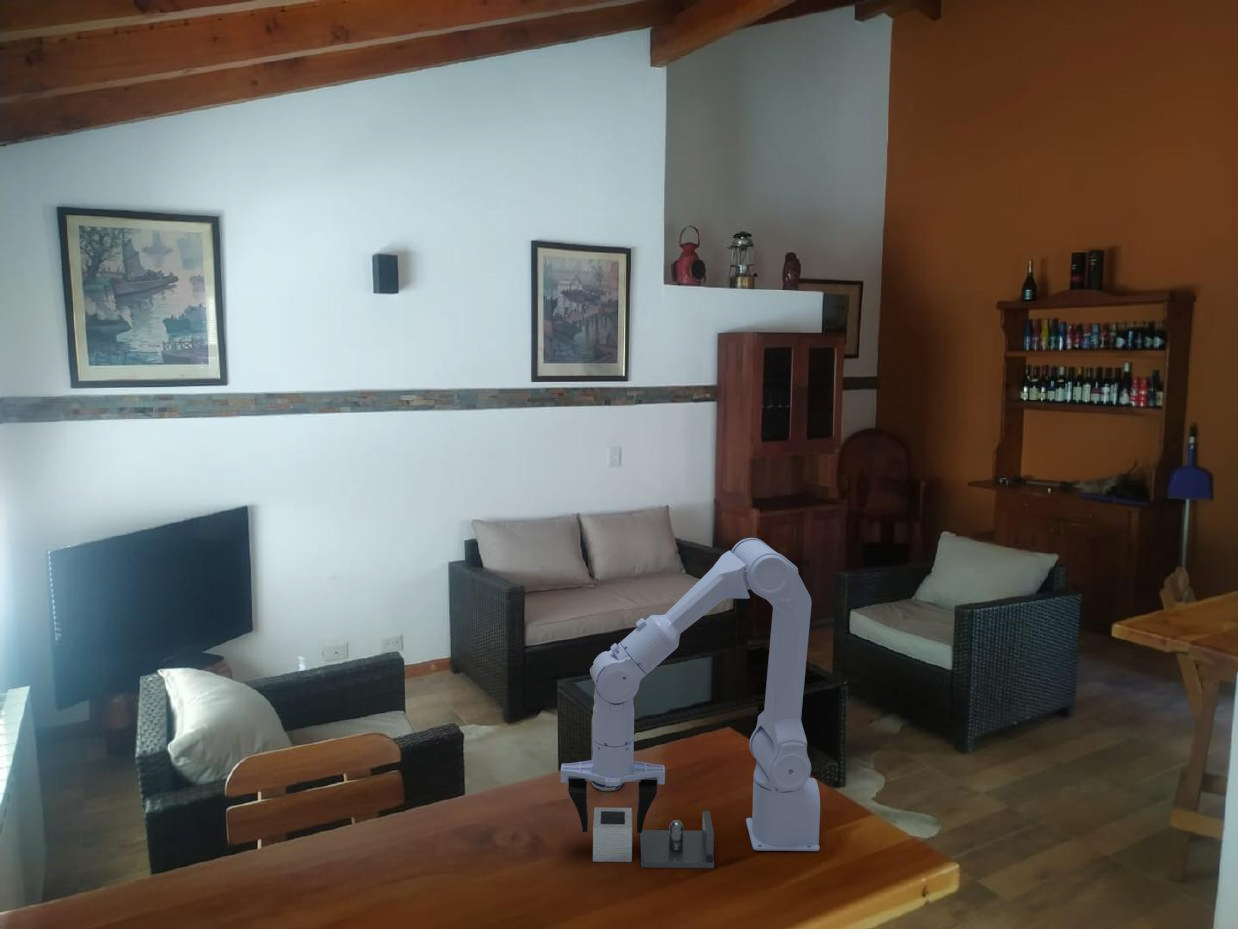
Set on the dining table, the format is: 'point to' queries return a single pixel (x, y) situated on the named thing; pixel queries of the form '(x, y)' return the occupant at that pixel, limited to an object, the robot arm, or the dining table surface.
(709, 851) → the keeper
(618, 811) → the hollow square tube
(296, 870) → the dining table surface
